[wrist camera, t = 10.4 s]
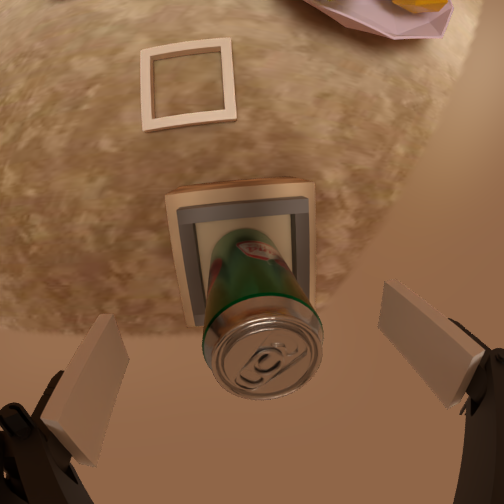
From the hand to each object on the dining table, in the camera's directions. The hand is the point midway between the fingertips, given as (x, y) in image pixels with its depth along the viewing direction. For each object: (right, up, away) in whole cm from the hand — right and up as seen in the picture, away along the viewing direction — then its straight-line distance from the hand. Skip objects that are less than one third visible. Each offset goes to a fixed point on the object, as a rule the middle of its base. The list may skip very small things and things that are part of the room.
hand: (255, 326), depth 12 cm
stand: (-1, +5, +16) cm, 17 cm away
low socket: (-7, +20, +11) cm, 24 cm away
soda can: (-1, +3, +9) cm, 10 cm away
